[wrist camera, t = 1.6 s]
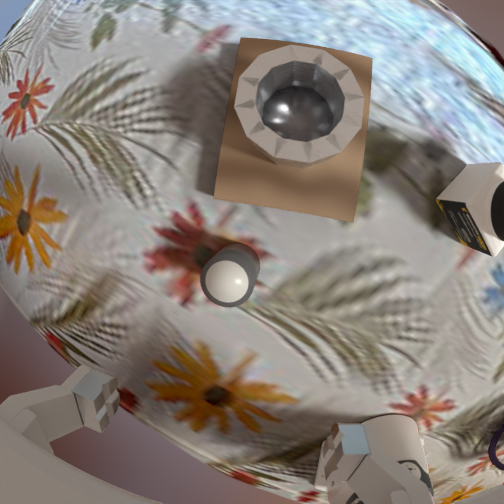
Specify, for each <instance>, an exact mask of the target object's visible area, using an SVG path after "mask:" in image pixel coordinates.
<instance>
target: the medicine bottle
mask: <svg viewBox="0 0 504 504" xmlns="http://www.w3.org/2000/svg"><path fill="white" fill-rule="evenodd" d="M436 202H437V204H438V205H439V207H440V208H441V210H442V211H443V213H444V215H445V216H446V218H447V219H448V221H449V223H450V224H451V226H452V228H453V229H454V231H455V233H456V234H457V236H458V238H459V240H460V241H461V243H462V244H463V245H465V246H468V247H470V248H473V249H475V250H478V251H480V252H483V253H485V254H487V255H490V256H492V257H495V256H496V255H497V254H498V252H499V251H500V250H501V249H502V248H503V246H504V166H503V164H502V163H500V162H495V163H480V164H468V165H467V166H466V167H465V168H464V169H463V170H462V171H461V172H460V173H459V174H458V176H457V177H456V178H455V179H454V180H453V181H452V182H451V183H450V184H449V185H448V186H447V188H446V189H445V190H444V191H443V192H442V193H441V194H440V195H439V196H438V197H437V198H436Z"/></svg>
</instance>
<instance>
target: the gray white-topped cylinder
mask: <svg viewBox="0 0 504 504" xmlns="http://www.w3.org/2000/svg"><path fill="white" fill-rule="evenodd" d="M259 270H260V261H259V258H258V256H257V254H256V252H255V251H254V250H253V249H252V248H251V247H249V246H247V245H245V244H242V243H231V244H228V245H226V246H224V247H223V248H222V249H221V250H220V251H219V252H218V253H217V254H216V255H215V256H213V257H212V258H211V259H210V260H209V261H208V262H207V263H206V264H205V266H204V267H203V269H202V272H201V277H200V282H201V287H202V290H203V292H204V294H205V295H206V296H207V297H208V299H210V300H211V301H212V302H213V303H215V304H217V305H219V306H223V307H235V306H238V305H241V304H242V303H244V302H245V301H246V300H247V299H248V298H249V297H250V295H251V294H252V291H253V289H254V286H255V283H256V280H257V277H258V274H259Z"/></svg>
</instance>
